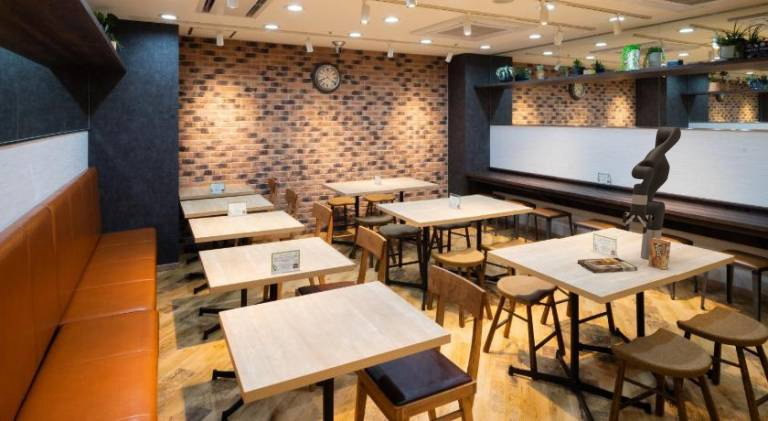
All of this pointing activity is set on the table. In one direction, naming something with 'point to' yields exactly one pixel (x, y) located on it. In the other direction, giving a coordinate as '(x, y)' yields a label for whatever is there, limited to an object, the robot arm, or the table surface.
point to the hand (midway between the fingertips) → (635, 232)
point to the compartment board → (606, 266)
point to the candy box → (659, 253)
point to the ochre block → (609, 261)
